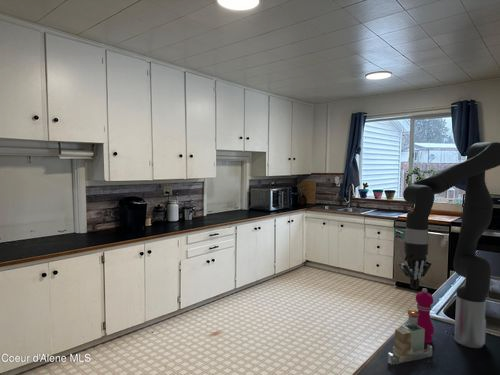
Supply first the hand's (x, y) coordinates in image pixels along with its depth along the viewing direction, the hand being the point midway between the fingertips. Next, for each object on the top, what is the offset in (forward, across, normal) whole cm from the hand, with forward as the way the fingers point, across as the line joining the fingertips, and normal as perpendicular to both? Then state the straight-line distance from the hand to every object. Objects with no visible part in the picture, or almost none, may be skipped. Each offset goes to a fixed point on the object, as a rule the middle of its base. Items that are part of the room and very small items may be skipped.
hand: (414, 288), depth 122 cm
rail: (+22, +6, +5) cm, 24 cm away
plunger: (+14, 0, 0) cm, 14 cm away
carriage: (+21, +10, +5) cm, 24 cm away
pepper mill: (+22, -9, -4) cm, 25 cm away
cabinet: (+22, 0, 0) cm, 22 cm away
